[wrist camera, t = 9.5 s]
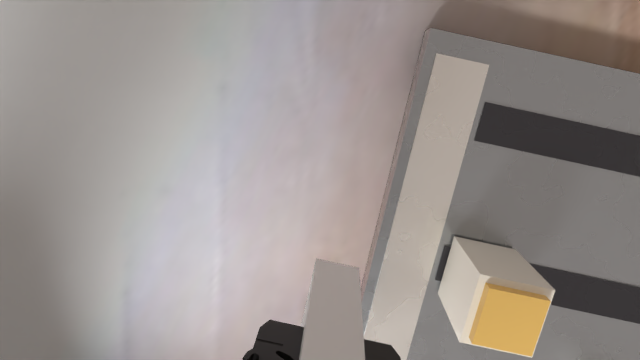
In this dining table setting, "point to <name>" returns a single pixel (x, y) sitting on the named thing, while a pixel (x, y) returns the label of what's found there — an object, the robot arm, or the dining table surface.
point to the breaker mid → (494, 297)
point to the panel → (512, 197)
